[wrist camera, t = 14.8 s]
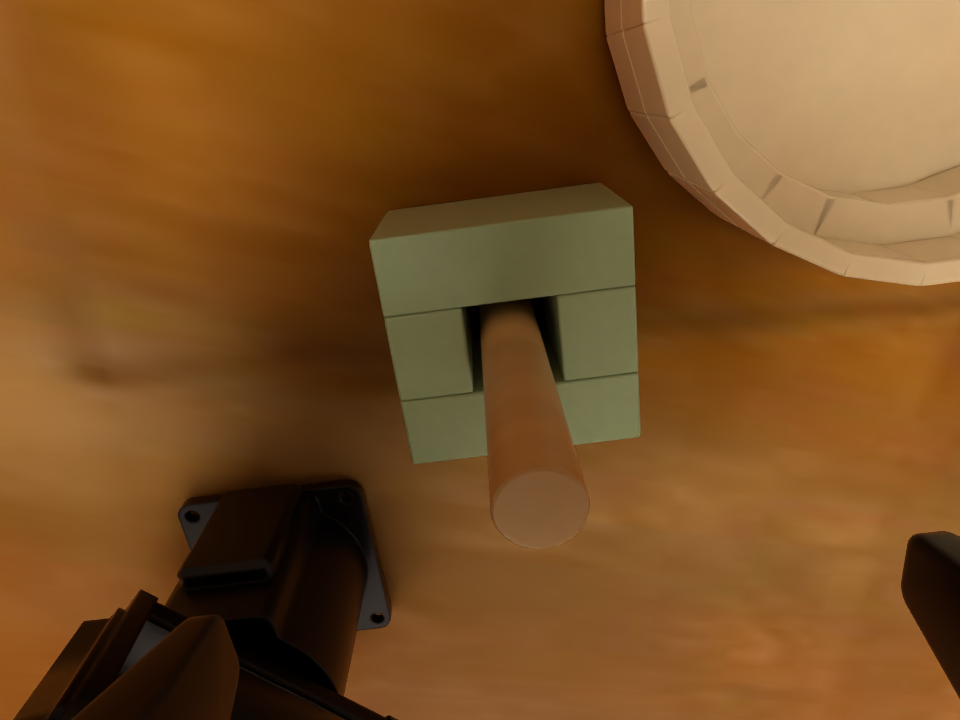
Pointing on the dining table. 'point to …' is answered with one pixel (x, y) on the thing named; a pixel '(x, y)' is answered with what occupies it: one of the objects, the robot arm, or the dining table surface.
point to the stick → (527, 433)
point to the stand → (508, 277)
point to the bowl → (807, 122)
